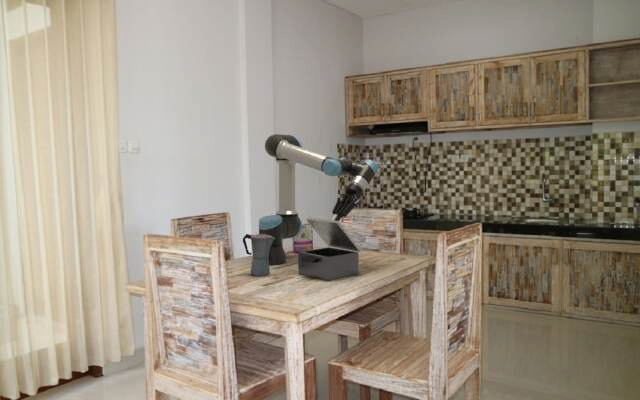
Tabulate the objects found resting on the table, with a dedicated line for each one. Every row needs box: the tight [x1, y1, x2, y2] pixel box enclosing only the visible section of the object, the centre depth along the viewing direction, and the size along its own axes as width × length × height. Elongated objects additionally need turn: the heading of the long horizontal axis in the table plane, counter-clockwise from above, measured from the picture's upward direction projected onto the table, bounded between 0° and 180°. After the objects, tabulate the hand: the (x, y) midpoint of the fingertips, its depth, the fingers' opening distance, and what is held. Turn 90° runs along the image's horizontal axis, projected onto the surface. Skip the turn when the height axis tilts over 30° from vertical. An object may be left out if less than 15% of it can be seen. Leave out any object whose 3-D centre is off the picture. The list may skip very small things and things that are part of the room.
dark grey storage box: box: [297, 246, 360, 282], centre depth 217 cm, size 20×20×10 cm
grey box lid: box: [305, 217, 362, 253], centre depth 219 cm, size 21×19×1 cm
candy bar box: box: [291, 222, 314, 254], centre depth 278 cm, size 11×5×16 cm, turn 102°
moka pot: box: [242, 230, 275, 277], centre depth 220 cm, size 10×15×20 cm, turn 78°
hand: (330, 227), depth 218 cm, fingers closed
